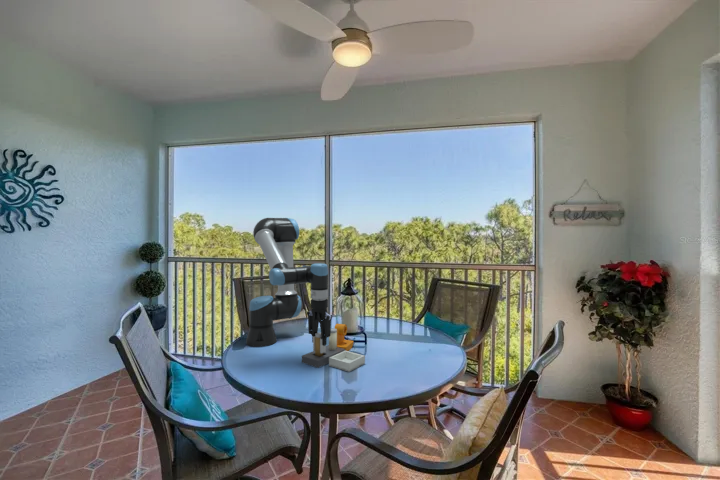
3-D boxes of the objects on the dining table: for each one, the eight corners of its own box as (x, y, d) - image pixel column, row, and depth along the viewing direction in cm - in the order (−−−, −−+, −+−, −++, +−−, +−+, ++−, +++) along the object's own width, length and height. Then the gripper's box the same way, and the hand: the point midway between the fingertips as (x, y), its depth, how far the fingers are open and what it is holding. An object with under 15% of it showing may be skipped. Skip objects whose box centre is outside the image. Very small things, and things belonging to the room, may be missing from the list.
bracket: (345, 353, 164) (345, 327, 163) (331, 351, 166) (331, 326, 166) (354, 346, 174) (354, 322, 174) (340, 344, 176) (340, 321, 176)
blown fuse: (313, 360, 153) (313, 333, 153) (319, 358, 156) (319, 331, 156) (319, 362, 151) (319, 335, 151) (325, 360, 154) (325, 333, 154)
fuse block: (318, 367, 146) (318, 339, 145) (301, 362, 152) (301, 335, 151) (345, 355, 160) (345, 329, 160) (329, 351, 166) (329, 326, 166)
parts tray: (329, 365, 148) (329, 357, 148) (345, 358, 157) (345, 350, 157) (349, 371, 142) (349, 363, 142) (364, 363, 150) (364, 355, 150)
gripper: (299, 297, 155) (300, 349, 156) (327, 302, 145) (327, 358, 146) (311, 295, 161) (311, 345, 162) (339, 299, 151) (339, 353, 152)
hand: (319, 351), depth 154 cm, fingers closed on blown fuse, 3 cm apart
